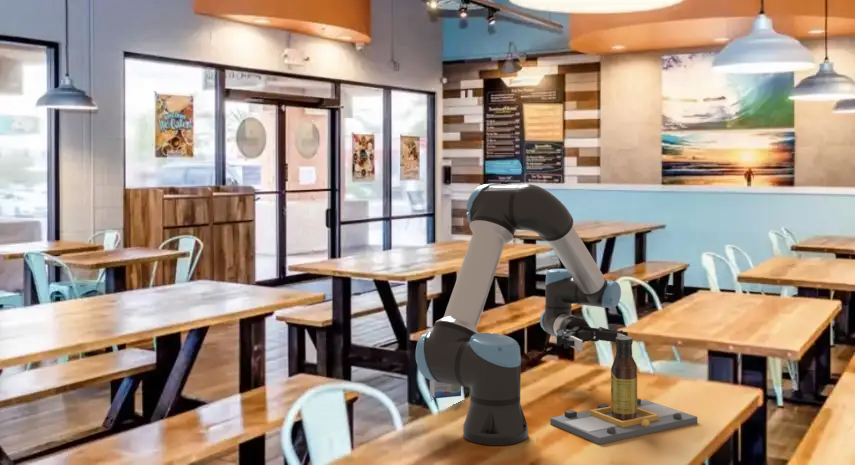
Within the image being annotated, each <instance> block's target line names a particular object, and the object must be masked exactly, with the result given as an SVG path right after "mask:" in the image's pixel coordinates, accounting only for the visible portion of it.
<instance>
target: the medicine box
mask: <svg viewBox="0 0 855 465" xmlns="http://www.w3.org/2000/svg"><path fill="white" fill-rule="evenodd" d="M429 394H430V396H431V397H432V398H434V399H442V398H443V399H444V398H445V399H446V398H454V397H455V398H456V397H462V386H459V385H453V384H448V383H438V382H436V381H434V380H430V379H429Z"/></svg>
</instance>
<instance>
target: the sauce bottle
mask: <svg viewBox="0 0 855 465" xmlns="http://www.w3.org/2000/svg"><path fill="white" fill-rule="evenodd" d="M633 340H634V339H633V337H632V336H629V335H628V336H618V337H616V341H615V342H614V343H615V349H616V350H615V357H614V360H613V363H612V365H611V369H610V406H611V410H612V416H613V417H614V418H617V419H622V420H630V419H634V418H636V416H637V412H636V411H637V398H638V374H637V371H638V366H637V363H636V362H635V360H634V358H633V346H632V345H633Z"/></svg>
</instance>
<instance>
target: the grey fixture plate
mask: <svg viewBox="0 0 855 465" xmlns="http://www.w3.org/2000/svg"><path fill="white" fill-rule="evenodd" d="M636 412H637V416H636V418H634V419H630V420H622V419H617V418H614V417H613V416H612V410H611V404H610V405H609V404H606V403H601V404H597V408H594V409H588V410H585V411H584V410H583V411H579V412H578V411H576V410H573V409H571V410H566V411H565V410H564V414H562V415H558V416H554V417H550V418H549V422H550V423H549V424H550V425H552V426H554V427H557V428H560V430H561V429H562V430H564V431H566V432H569V433H571V434H574V435H576V436H578V437H581V438H583V439H585V440H588V441H590V442H593V443H595V444H598V445H603V444H608V443H613V442H616V441H621V440H626V439H631V438H635V437H640V436H644V435H649V434H653V433H658V432H662V431H667V430H671V429H676V428H680V427H684V426H690V425H695V424H698V416H696V415H692V414H689V413H686V412H684V411H681V410H678V409H675V408H671V407H669V406H666V405H662V404H659V403H657V402H654V401H651V400H648V399H641V398H639V397H637V411H636Z"/></svg>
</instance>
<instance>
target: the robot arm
mask: <svg viewBox="0 0 855 465" xmlns="http://www.w3.org/2000/svg"><path fill="white" fill-rule="evenodd" d="M466 210H467V212H466V218H467V220H468V222H469V229H470V231H471V233H472V235H471V238H470V241H469V244H468V247H467V249H466V252H465V255H464V258H463V261H462V263H461V267H460V269H459V272H458V275H457V278H456V281H455V284H454V287H453V289H452V292H451V295H450V297H449V301H448V303H447V306H446V309H445V313H444V315H443V317H442V318H440V319H438V320H436V321H435V323H434V325H433V328H432V330H431V331H427V332H423V334H422V335H421V336H420V337H419V338H418V340H417V342H416V348H415V361H416V366H417V369H418V371H419V373H420V374H421V375H422V377H424V378H426V380H427V379H428V380H429V381H430V380H434V381H436V382H438V383H448V384H453V385H459V386H461V387H465V388H468V389H469V388H470V390H471V396H470V402H469V407H468V409H467V412H466V416H465V421H464V423H463V428H462V431H463V433H462V434H463V435H462V436H463V438H465V439H466V440H467V441H470V442H472V443H475V444H480V445H486V446H509V445H515V444H519V443H522V442H524V441H526V440H527V438H529V427H528V423H527V420H526V418H525V417H526V416H525V414H524V411H523V407H522V405H521V383H522V382H521V380H522V379H521V378H522V376H521V374H522V373H521V371H522V370H521V368H522V367H521V366H522V365H521V364H522V356H521V346H520V345H519V343H518V341H517V340H515V339H514V338H512V337H510V336H508V335H504V334H501V333H491V332H478V329H477V328H478V325H479V322H480V319H481V317H482V313H483V310H484V307H485V305H486V302H487V299H488V296H489V292H490V290H491V286H492V284H493V281H494V277H495V274H496V272H497V269H498V264H499V263H500V260H501V256H502V253H503V250H504V247H505V245H506V244H508V243H510V242H512V241H513V240H514V236H515V233H516V231H519V230H520V231H531V232H533V233H535V234H537V235H538V236H539V237H540V239H542V240H543V241H545V242H548V244H549V245H550V247H551V249H552V250H553V251H554V253H555V254H556V256H557V257H558V259H559V260H560V262H561V263H562V265H563V266H564V268H551V269H548V270H547V271H546V275H545V284H544V286H545V290H544V291H545V292H544V293H545V296H544V298H545V305H544V306H545V307H544V311H543V312H542V313H541V315H540V318H539V324H540V327H541V328H542V329H543V331H544V332H546V333H547V334H548V335H550V336H552V337H554V338H555V339H556V346H558V347H560V346H562V344H563V348H564V349H569V347H571V348H573V349H575V350H576V351H578V352H583V344H584V343H585V342H589V341H590V342H598V341H602V342H603V341H605V342H609V343H610V342H612V343H615V341H616V337H618V336H629V332H627V331H624V330H623V329H622V330H616V329H609V328H605V327H602V326H599V327H598V328H597V327H591V326H589V324H588V322H587V321H585V320H584V318H583V319H582V318H580V317H578V316H575V315H573V314H572V306H573V305H580V306H581V305H582V306H587V307H588V306H590V307H597V308H601V309H604V308H610V309H611V308H615V307H617V306H618V305H619V303H620V300H621V297H622V289H621V285H620V284H619V282H618V281H615V280H611V279H609V280H608V279H606V277H605V276H604V275H603V272H602V271H601V270H600V268H599V266H598V264H597V263H596V261H595V260H594V258H593V256H592V255H591V252H589V250H588V248H587V247H586V245H585V243H584V242H583V240H582V239H581V237H580V235H579V233H578V231H577V230H576V228H575V227H574V218H573V215H572V214H571V213H570V211H569V209H568V208H567V207H566V205H564V204H563V202H562V201H561V200H559V198H557V197H556V196H555V195H553V194H552V193H551V192H550V191H548V190H547V189H545V188H542V187H540V186H538V185H535V184H531V183H530V184H529V183H527V184H526V183H525V184H524V183H523V184H520V183H518V184H517V183H516V184H515V183H513V184H512V183H498V182H493V183H485V184H484V183H483V184H482V185H479V186H477V187H476V188H475V189H474V190H473V191H472V192H471V194H470V196H469V197H468V200H467V203H466Z"/></svg>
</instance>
